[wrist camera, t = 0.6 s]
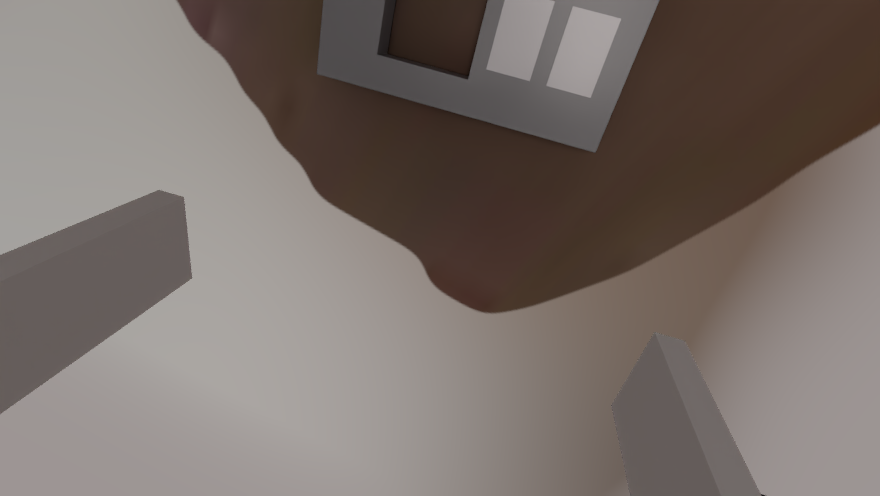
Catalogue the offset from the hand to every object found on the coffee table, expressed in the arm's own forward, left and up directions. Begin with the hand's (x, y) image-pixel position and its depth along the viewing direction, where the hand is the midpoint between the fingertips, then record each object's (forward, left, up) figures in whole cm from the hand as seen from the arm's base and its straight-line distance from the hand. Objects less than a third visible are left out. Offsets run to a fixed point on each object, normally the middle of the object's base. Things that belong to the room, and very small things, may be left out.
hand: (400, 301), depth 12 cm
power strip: (-7, -3, -26) cm, 27 cm away
